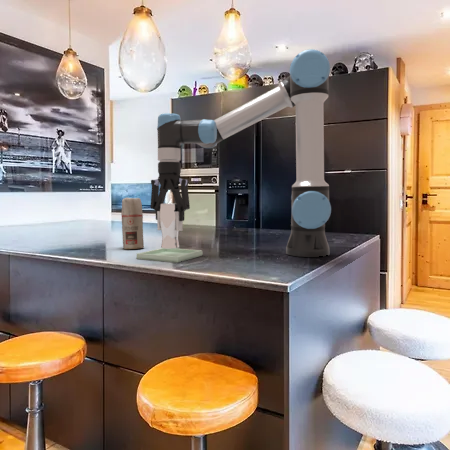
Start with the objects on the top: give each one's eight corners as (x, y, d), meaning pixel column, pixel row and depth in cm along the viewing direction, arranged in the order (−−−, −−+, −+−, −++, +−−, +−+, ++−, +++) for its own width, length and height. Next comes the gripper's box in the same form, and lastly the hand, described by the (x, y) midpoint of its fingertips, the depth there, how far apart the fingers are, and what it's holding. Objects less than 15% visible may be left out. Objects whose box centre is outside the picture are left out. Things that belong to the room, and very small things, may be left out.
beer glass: (176, 249, 134) (176, 204, 133) (156, 249, 136) (156, 203, 134) (183, 246, 141) (182, 203, 140) (164, 246, 143) (163, 203, 141)
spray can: (117, 249, 157) (116, 197, 156) (130, 246, 165) (129, 197, 163) (136, 250, 154) (135, 197, 153) (148, 247, 162) (147, 197, 160)
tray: (202, 255, 142) (202, 250, 142) (177, 262, 128) (177, 257, 128) (164, 252, 149) (164, 247, 149) (136, 259, 135) (136, 253, 135)
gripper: (200, 161, 135) (201, 230, 137) (151, 163, 144) (152, 228, 146) (188, 160, 128) (189, 232, 130) (138, 161, 137) (139, 230, 139)
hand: (170, 230), depth 138 cm, fingers closed on beer glass, 7 cm apart
